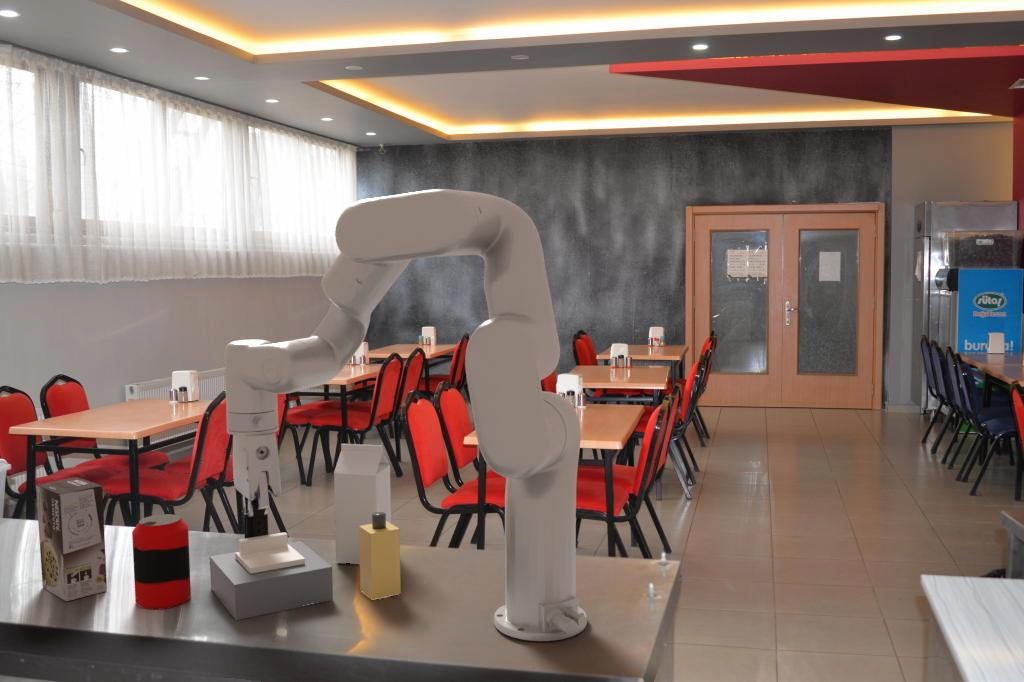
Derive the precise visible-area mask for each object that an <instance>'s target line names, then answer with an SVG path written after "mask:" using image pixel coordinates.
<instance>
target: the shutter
mask: <svg viewBox="0 0 1024 682" xmlns="http://www.w3.org/2000/svg"><path fill="white" fill-rule="evenodd" d="M288 535H289V534H288V533H287V532H286V531H285V532H278V533H271V534H268V535H265V536H259V537H252V538H246V539H245V538H241V539H238V551H235V552H236V553H235V558H236V559H237V560H238V561H239V562H240V563H241V564H242V566H243V567H244V568H245V569H246V570H247V571H248V572H249V573H250V574H252V573H257V572H263V571H268V570H274V569H279V568H285V567H290V566H296V565H301V564H305V558H304V557H303V556H302V555H300V554H299V553H298V552H297V551H296V550H295V549H293V548H292V547H291V546H290V545H289V544H288V543H289V541H288V539H289V537H288Z"/></svg>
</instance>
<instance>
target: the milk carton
mask: <svg viewBox="0 0 1024 682" xmlns="http://www.w3.org/2000/svg"><path fill="white" fill-rule="evenodd" d="M340 450H341V451H340V453H339V456H338V458H337V462H336V466H335V469H334V471H333V486H334V487H333V489H334V490H333V491H334V495H333V497H334V498H333V499H334V530H335V533H334V536H335V537H334V538H335V539H334V540H335V563H336V562H340V563H339V564H346V563H350V565H360V551H359V526H361V525H367V524H372V514H373V513H376V512H384V513H386V521H388V522H389V523H391V524H392V508H391V507H392V506H391V505H392V503H391V502H392V501H391V497H392V496H391V464H390V462H389V460H388V458H387V457H386V455H385V453H384V446H383V445H381V444H360V443H359V444H355V443H354V444H353V443H341V445H340Z"/></svg>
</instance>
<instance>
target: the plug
mask: <svg viewBox="0 0 1024 682" xmlns="http://www.w3.org/2000/svg"><path fill="white" fill-rule="evenodd" d="M400 532H401V531H400V528H399V527H398V526H396V525H394V524H392V522H391V523H389V522H388V521H386V513H384V512H376V513H373V514H372V524H367V525H361V526H359V551H360V564H359V586H360V587H359V589H360V590H361V591H363V592H364V593H365V594H366V595H368V596H369V597H370V598H372V599H375V598H381V597H385V596H389V595H395V594H402V593H401V589H402V588H401V587H402V586H401V548H400V547H401V546H400V543H401V538H400V537H401V535H400V534H401V533H400Z"/></svg>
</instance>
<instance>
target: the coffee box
mask: <svg viewBox="0 0 1024 682" xmlns="http://www.w3.org/2000/svg"><path fill="white" fill-rule="evenodd" d="M35 487H36V488H35V490H36V504H37V521H38V524H37V525H38V537H39V538H38V539H39V550H40V551H39V552H40V566H41V567H40V568H41V579H42V580H41V582H42V588H43V589H44V590H46V591H48V592H50V593H51V594H53V595H54V596H57V597H58V598H59V599H60V600H63V601H65V602H70V601H73V600H78V599H82V598H85V597H88V596H93V595H97V594H101V593H105V592H107V590H108V584H107V582H108V580H107V579H108V578H107V559H106V556H107V555H106V542H105V540H106V539H105V536H106V535H105V516H104V497H103V494H104V493H103V488H104V487H103V485H101V484H98V483H96V482H93V481H89V480H87V479H84V478H81V477H79V476H75V477H74V476H73V477H68V478H64V479H58V480H54V481H50V482H46V483H40V484H36V485H35Z"/></svg>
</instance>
